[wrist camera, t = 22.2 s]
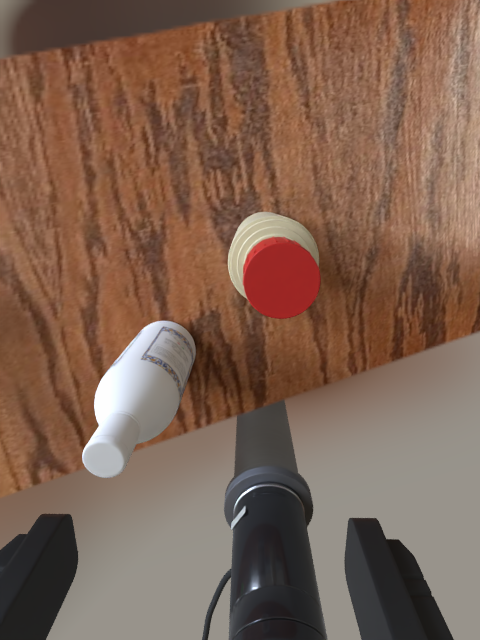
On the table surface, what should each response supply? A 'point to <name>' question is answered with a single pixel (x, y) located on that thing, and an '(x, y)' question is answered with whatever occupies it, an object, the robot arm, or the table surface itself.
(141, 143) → the table surface
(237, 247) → the sauce bottle
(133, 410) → the bath foam
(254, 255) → the cap
